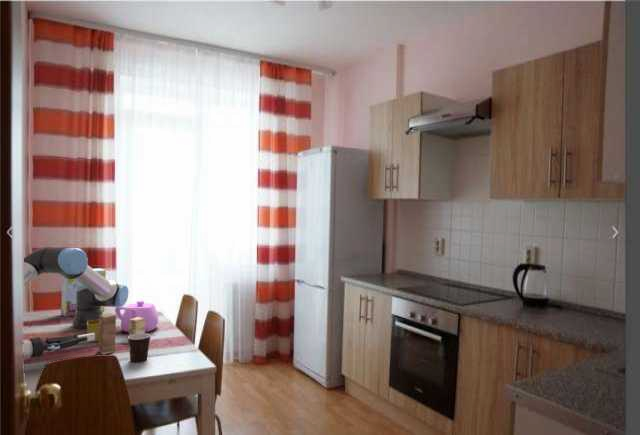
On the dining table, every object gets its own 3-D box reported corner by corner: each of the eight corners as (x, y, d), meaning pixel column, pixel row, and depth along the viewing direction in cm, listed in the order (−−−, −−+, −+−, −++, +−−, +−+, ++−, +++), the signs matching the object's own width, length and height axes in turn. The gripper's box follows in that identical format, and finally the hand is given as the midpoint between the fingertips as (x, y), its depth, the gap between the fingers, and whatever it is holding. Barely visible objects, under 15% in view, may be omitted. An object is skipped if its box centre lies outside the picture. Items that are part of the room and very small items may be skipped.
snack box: (66, 317, 240) (67, 272, 240) (60, 315, 246) (61, 270, 246) (105, 311, 257) (106, 269, 257) (98, 309, 263) (99, 267, 262)
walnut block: (98, 351, 187) (99, 315, 186) (110, 348, 190) (111, 313, 190) (103, 354, 183) (103, 317, 183) (115, 351, 187) (115, 315, 187)
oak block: (128, 339, 204) (129, 319, 204) (137, 337, 208) (137, 317, 208) (136, 341, 202) (136, 320, 201) (144, 338, 206) (145, 318, 206)
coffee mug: (131, 356, 181) (132, 333, 181) (152, 356, 182) (153, 333, 182) (121, 366, 170) (121, 341, 170) (143, 366, 170) (144, 341, 170)
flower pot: (86, 344, 196) (86, 324, 196) (87, 338, 204) (87, 320, 204) (107, 341, 200) (108, 322, 200) (107, 336, 208) (107, 318, 208)
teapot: (119, 326, 227) (120, 298, 227) (160, 325, 230) (161, 297, 230) (105, 338, 205) (105, 307, 204) (150, 337, 208) (151, 307, 208)
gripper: (24, 354, 169) (88, 341, 187) (34, 362, 161) (100, 348, 178) (25, 335, 169) (88, 324, 187) (34, 342, 160) (100, 330, 178)
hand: (94, 336), depth 182 cm, fingers closed
